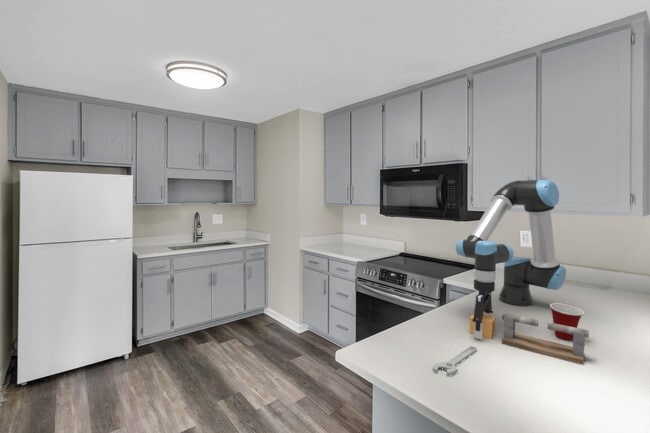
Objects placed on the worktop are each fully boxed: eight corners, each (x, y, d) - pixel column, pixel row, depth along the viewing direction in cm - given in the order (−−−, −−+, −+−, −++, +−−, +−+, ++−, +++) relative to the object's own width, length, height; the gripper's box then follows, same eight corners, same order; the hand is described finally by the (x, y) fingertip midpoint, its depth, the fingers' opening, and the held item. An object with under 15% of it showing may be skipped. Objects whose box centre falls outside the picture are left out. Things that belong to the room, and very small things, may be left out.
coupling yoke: (473, 328, 137) (474, 313, 137) (495, 333, 132) (495, 317, 132) (469, 333, 132) (470, 317, 132) (491, 339, 127) (491, 322, 127)
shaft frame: (504, 334, 132) (505, 309, 131) (587, 354, 115) (589, 326, 115) (498, 343, 124) (500, 316, 123) (587, 365, 107) (588, 335, 107)
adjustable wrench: (470, 349, 120) (470, 344, 120) (488, 356, 115) (488, 351, 115) (429, 371, 104) (429, 365, 104) (448, 380, 99) (448, 374, 99)
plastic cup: (567, 345, 122) (569, 313, 121) (541, 333, 133) (543, 304, 132) (589, 342, 125) (591, 311, 124) (562, 330, 136) (563, 302, 135)
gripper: (482, 273, 142) (480, 321, 144) (465, 284, 124) (463, 340, 125) (501, 276, 138) (499, 326, 139) (487, 288, 119) (484, 346, 120)
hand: (482, 333), depth 132 cm, fingers open, 12 cm apart
